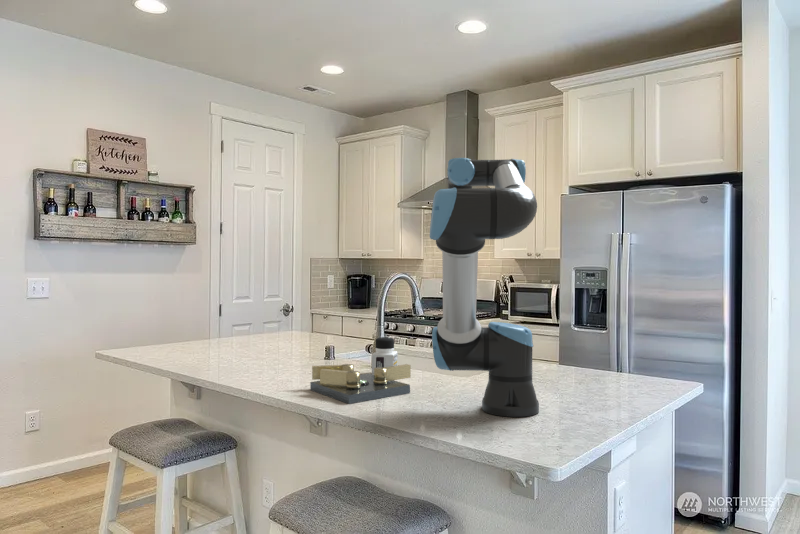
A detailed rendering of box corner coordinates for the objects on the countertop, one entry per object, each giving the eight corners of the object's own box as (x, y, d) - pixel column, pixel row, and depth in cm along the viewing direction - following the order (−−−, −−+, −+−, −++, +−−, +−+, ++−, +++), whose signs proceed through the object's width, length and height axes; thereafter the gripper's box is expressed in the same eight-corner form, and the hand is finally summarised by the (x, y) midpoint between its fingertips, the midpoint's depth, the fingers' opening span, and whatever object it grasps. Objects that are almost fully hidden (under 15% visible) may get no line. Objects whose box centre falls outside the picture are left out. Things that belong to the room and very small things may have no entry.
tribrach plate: (410, 393, 177) (410, 382, 177) (348, 403, 164) (348, 392, 164) (368, 381, 195) (368, 371, 195) (310, 390, 181) (310, 379, 181)
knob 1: (363, 386, 174) (363, 371, 174) (355, 389, 170) (355, 374, 170) (325, 382, 180) (325, 368, 180) (317, 384, 176) (317, 370, 176)
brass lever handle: (353, 377, 187) (353, 363, 187) (355, 379, 183) (355, 366, 183) (312, 378, 185) (312, 365, 185) (312, 381, 180) (312, 367, 180)
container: (393, 376, 202) (393, 339, 201) (371, 376, 203) (371, 338, 203) (397, 372, 209) (397, 336, 209) (376, 371, 211) (376, 335, 210)
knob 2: (378, 384, 176) (378, 370, 176) (370, 382, 179) (370, 368, 179) (412, 379, 184) (412, 365, 184) (404, 376, 188) (404, 363, 187)
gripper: (483, 208, 177) (483, 286, 177) (454, 211, 187) (454, 285, 187) (466, 207, 172) (465, 287, 172) (436, 210, 182) (436, 285, 183)
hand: (459, 286), depth 180 cm, fingers closed
